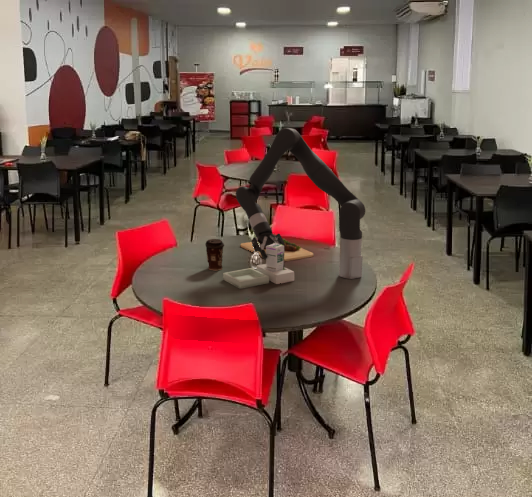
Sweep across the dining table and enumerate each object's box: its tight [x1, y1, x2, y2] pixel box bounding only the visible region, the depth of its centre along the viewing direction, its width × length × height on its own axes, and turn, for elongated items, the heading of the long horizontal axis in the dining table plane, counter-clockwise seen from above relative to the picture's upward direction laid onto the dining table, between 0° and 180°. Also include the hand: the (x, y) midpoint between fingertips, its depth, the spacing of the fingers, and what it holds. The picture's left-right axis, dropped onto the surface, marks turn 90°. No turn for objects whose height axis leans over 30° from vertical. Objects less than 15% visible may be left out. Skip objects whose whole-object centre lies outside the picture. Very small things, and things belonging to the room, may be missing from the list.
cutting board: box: [240, 233, 314, 262], centre depth 320 cm, size 35×23×8 cm
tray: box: [222, 267, 270, 290], centre depth 274 cm, size 14×14×3 cm
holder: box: [256, 263, 295, 285], centre depth 279 cm, size 16×9×4 cm, turn 33°
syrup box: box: [265, 243, 285, 272], centre depth 278 cm, size 6×6×14 cm
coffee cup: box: [205, 238, 225, 272], centre depth 290 cm, size 9×8×13 cm
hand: (274, 257), depth 278 cm, fingers open, 8 cm apart
